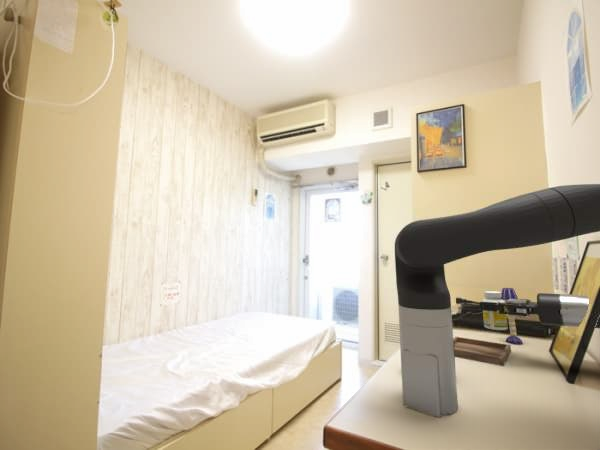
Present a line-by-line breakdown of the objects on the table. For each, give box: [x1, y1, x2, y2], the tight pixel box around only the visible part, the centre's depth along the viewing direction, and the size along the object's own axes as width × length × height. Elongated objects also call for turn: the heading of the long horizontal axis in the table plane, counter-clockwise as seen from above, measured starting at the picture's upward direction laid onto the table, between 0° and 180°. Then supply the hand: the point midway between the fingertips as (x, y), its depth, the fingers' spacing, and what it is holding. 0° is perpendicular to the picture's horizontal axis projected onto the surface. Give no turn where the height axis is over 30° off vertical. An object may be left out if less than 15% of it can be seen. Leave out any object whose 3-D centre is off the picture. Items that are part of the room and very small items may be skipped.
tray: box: [453, 336, 512, 367], centre depth 81 cm, size 15×14×2 cm
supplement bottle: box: [481, 290, 509, 331], centre depth 79 cm, size 5×5×10 cm
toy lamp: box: [501, 287, 524, 345], centre depth 92 cm, size 5×5×17 cm
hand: (482, 304), depth 81 cm, fingers closed on supplement bottle, 5 cm apart
